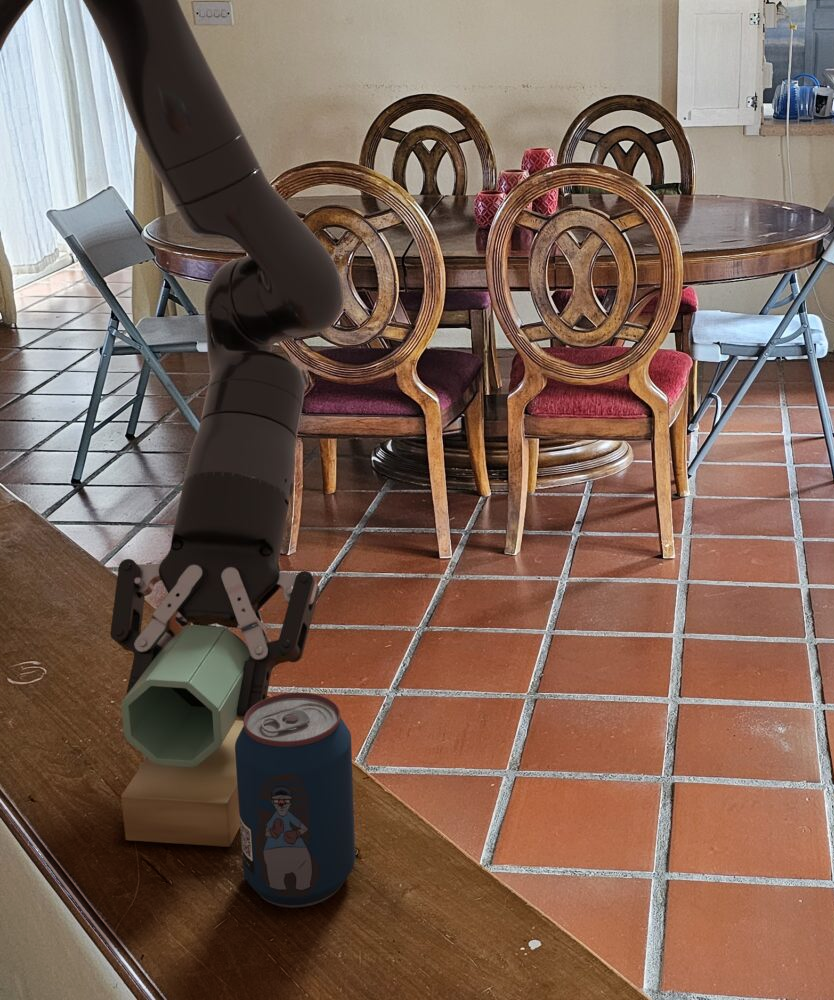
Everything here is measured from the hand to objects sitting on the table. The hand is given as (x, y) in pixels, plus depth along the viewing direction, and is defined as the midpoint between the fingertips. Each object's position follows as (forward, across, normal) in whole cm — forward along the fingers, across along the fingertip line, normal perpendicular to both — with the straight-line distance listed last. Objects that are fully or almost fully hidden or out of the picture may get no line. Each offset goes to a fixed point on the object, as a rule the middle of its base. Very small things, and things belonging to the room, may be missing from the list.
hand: (193, 714), depth 88 cm
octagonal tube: (+1, 0, +1) cm, 2 cm away
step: (+5, 0, +5) cm, 7 cm away
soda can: (+10, +9, 0) cm, 14 cm away
